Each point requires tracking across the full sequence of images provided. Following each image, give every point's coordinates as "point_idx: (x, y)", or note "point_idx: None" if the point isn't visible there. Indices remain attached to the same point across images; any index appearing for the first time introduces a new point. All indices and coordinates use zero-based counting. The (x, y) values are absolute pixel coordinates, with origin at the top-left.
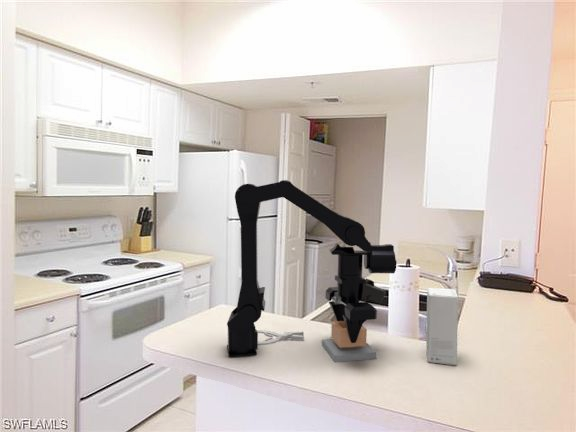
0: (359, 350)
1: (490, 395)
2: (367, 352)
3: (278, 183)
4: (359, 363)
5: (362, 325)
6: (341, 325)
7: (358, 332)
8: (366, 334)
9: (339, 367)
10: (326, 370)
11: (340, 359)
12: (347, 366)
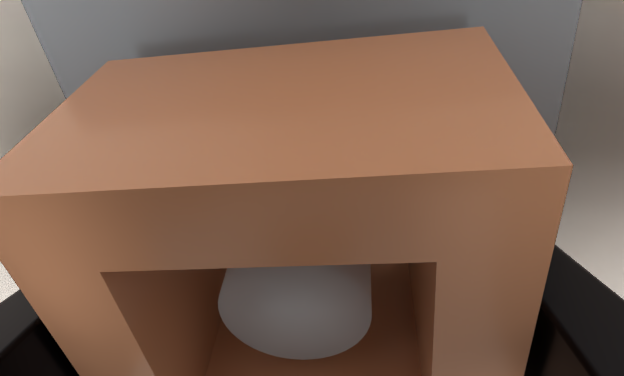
0: None
1: None
2: (561, 17)
3: None
4: (606, 107)
5: (306, 179)
6: (183, 370)
7: (620, 312)
8: (529, 101)
9: (605, 264)
10: None
11: None
12: (616, 213)
